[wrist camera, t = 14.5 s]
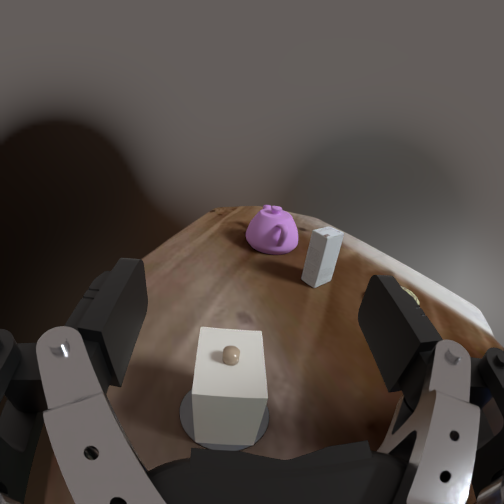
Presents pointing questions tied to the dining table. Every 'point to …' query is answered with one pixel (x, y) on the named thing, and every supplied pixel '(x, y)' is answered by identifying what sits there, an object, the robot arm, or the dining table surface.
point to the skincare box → (322, 256)
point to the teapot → (272, 231)
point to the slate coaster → (188, 426)
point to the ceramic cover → (229, 386)
